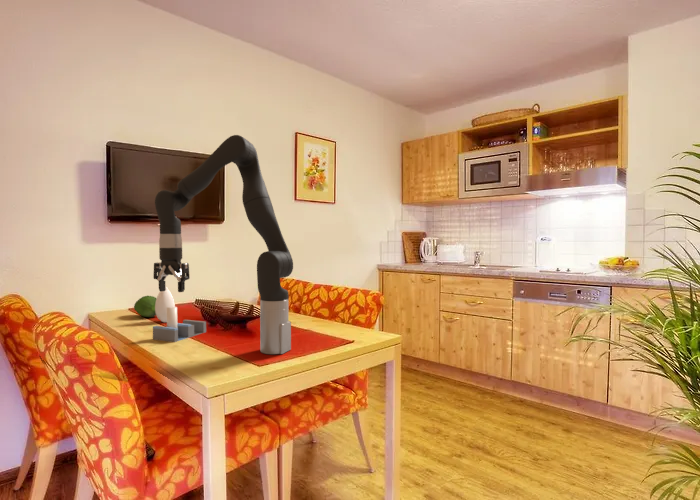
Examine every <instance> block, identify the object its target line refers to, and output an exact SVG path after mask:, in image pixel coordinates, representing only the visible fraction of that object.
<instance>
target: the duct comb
mask: <svg viewBox="0 0 700 500" xmlns="http://www.w3.org/2000/svg"><path fill="white" fill-rule="evenodd" d="M177 327H178V328H173V327H167V326H164V325H163V326H161V325H155V326H152V340H154V341H155V340H156V341H163V342H170V343H176V342H180V341H183V340H186V339H190V338H193V337H195V336H199V335H201V334H205V333H207V321H203V320H193V319H192V320H191V319H182V323H180V322H177Z"/></svg>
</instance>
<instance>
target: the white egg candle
mask: <svg viewBox="0 0 700 500" xmlns="http://www.w3.org/2000/svg"><path fill="white" fill-rule="evenodd" d="M165 288H166V290H165V291H159V292H158V295H157V296H156V298H157V299H156V304H155V312H156V316H155V317H157V319H158V320H160V322H162V323H167V307H176V305H175V300H174V297H173V294H172V292H171V290H169V287H167V285H165Z"/></svg>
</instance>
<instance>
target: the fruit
mask: <svg viewBox="0 0 700 500" xmlns="http://www.w3.org/2000/svg"><path fill="white" fill-rule="evenodd" d="M156 299H157V297H156V296H153V295H145V296H142V297H141V298H138V300H137V301H136V302H135V303H134V305H133V310H134V311H135V312H136V313H137V314H138V315H140V316H141V317H144V318H153V317H157V316H156V312H155V304H156Z"/></svg>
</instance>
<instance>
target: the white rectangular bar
mask: <svg viewBox="0 0 700 500" xmlns="http://www.w3.org/2000/svg"><path fill="white" fill-rule="evenodd" d="M177 323H178V306H175V307H167V322H166V327H173V328H178V327H177Z"/></svg>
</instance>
